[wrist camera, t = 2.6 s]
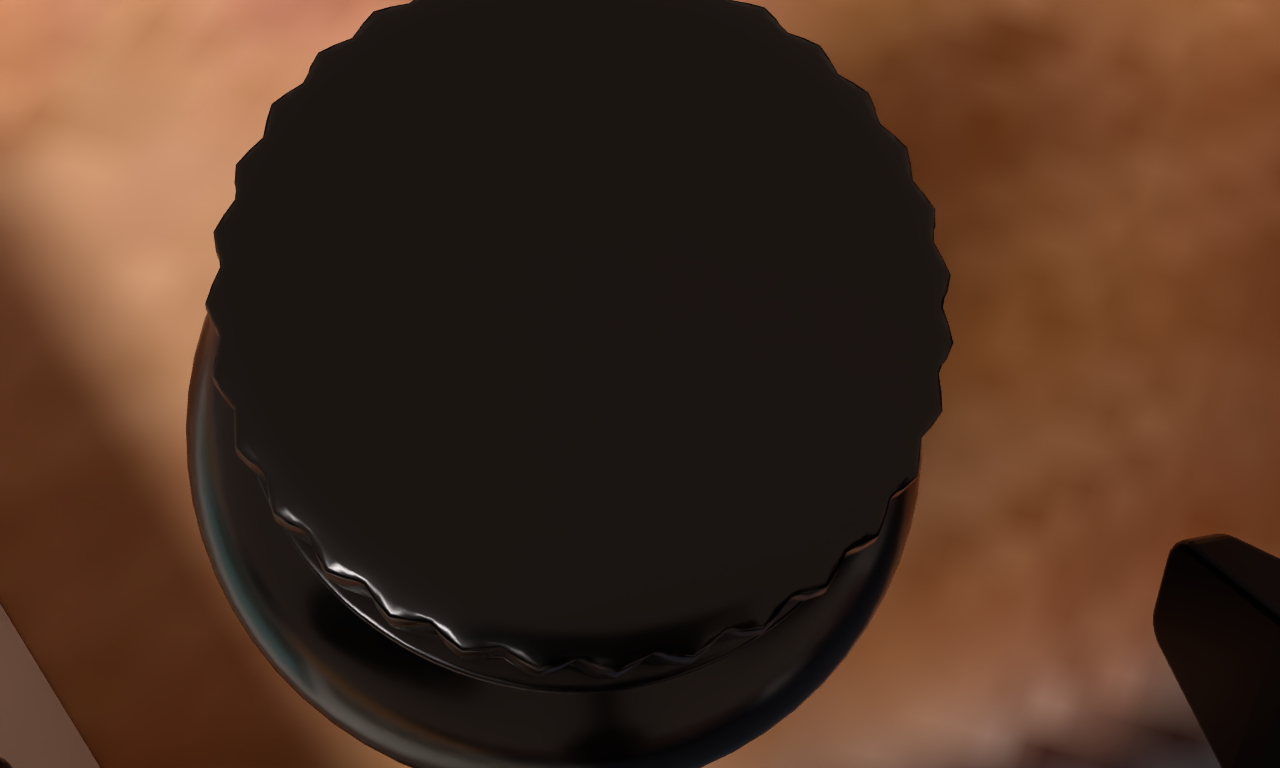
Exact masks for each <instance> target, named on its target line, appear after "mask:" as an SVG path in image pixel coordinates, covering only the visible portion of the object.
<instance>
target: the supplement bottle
mask: <svg viewBox="0 0 1280 768" xmlns="http://www.w3.org/2000/svg"><path fill="white" fill-rule="evenodd" d="M235 187H236V195H235V200H234V202H233V203H232V204H231V206H230V207H229V209H228V210H227V211H226V213H225V214H224V215H223V217H222V219H221V220H220V222H219V224H218V225H217V227H216V229H215V231H214V240H215V248H216V253H217V257H218V259H219V261H220V269H219V271H218V273H217V275H216V277H215V279H214V282H213V284H212V286H211V289H210V292H209V295H208V297H207V300H206V303H205V305H206V310H207V315H206V317H205V320H204V323H203V327H202V330H201V334H200V337H199V341H198V345H197V348H196V352H195V355H194V361H193V367H192V373H191V379H190V385H189V391H188V405H187V421H186V440H187V465H188V474H189V480H190V487H191V494H192V501H193V506H194V510H195V514H196V518H197V522H198V526H199V530H200V534H201V538H202V541H203V544H204V547H205V549H206V552H207V555H208V557H209V560H210V563H211V565H212V568H213V571H214V574H215V576H216V578H217V580H218V582H219V584H220V586H221V588H222V590H223V592H224V594H225V596H226V598H227V600H228V602H229V604H230V606H231V608H232V610H233V612H234V613H235V615H236V616H237V618H238V619H239V621H240V623H241V624H242V626H243V627H244V629H245V631H246V632H247V634H248V635H249V637H250V638H251V640H252V641H253V643H254V644H255V645H256V647H257V648H258V649H259V650H260V652H261V653H262V654H263V655H264V657H265V658H266V659H267V660H268V662H269V663H270V664H271V665H272V667H273V668H274V669H275V671H276V672H277V673H278V674H279V675H280V676H281V677H282V678H283V679H284V680H285V681H286V682H287V683H288V684H289V685H290V686H291V687H292V688H293V689H294V690H295V691H296V692H297V693H298V694H299V695H300V696H301V697H302V698H303V699H304V700H305V701H306V702H308V703H309V704H310V705H311V706H313V707H314V708H315V709H316V710H317V711H319V712H320V713H321V714H322V715H323V716H325V717H326V718H327V719H328V720H329V721H331V722H332V723H333V724H335V725H336V726H338V727H339V728H341V729H342V730H344V731H345V732H347V733H348V734H350V735H351V736H353V737H354V738H356V739H357V740H359V741H360V742H362V743H363V744H365V745H367V746H369V747H370V748H372V749H374V750H376V751H378V752H380V753H382V754H384V755H386V756H388V757H390V758H391V759H393V760H395V761H397V762H399V763H402V764H404V765H407V766H409V767H412V768H701V767H703V766H705V765H707V764H709V763H711V762H713V761H715V760H718V759H720V758H722V757H724V756H726V755H728V754H730V753H732V752H734V751H736V750H737V749H739V748H741V747H742V746H744V745H746V744H747V743H749V742H750V741H752V740H754V739H755V738H757V737H759V736H760V735H762V734H764V733H765V732H767V731H768V730H769V729H771V728H772V727H773V726H774V725H776V724H777V723H778V722H780V721H781V720H782V719H784V718H785V717H786V716H788V715H789V714H790V713H792V712H793V711H794V710H795V709H796V708H798V707H799V706H800V705H801V704H802V703H803V702H804V701H805V700H806V699H807V698H808V697H809V696H810V695H811V694H812V693H814V692H815V691H816V690H817V689H818V688H819V687H820V686H821V685H822V684H823V683H824V682H825V681H826V679H827V678H828V677H829V676H830V675H831V674H832V672H833V671H834V670H835V669H836V668H837V667H838V666H839V664H840V663H841V662H842V661H843V660H844V659H845V658H846V656H847V655H848V653H849V652H850V651H851V649H852V648H853V646H854V645H855V643H856V642H857V641H858V639H859V638H860V636H861V635H862V633H863V632H864V631H865V629H866V628H867V626H868V624H869V623H870V621H871V619H872V617H873V615H874V614H875V612H876V610H877V608H878V607H879V605H880V603H881V601H882V599H883V598H884V596H885V594H886V591H887V589H888V587H889V584H890V582H891V580H892V578H893V575H894V573H895V571H896V569H897V566H898V564H899V562H900V559H901V555H902V552H903V549H904V546H905V543H906V540H907V537H908V534H909V531H910V527H911V523H912V518H913V513H914V509H915V504H916V500H917V495H918V487H919V478H920V469H921V461H922V437H923V436H924V434H925V433H926V432H928V431H929V430H930V428H931V427H932V426H933V424H934V423H935V421H936V420H937V419H938V417H939V416H940V414H941V413H942V394H941V386H940V379H939V372H940V369H941V367H942V365H943V364H944V362H945V361H946V359H947V357H948V355H949V352H950V350H951V348H952V345H953V340H952V336H951V332H950V328H949V324H948V321H947V318H946V315H945V312H944V309H943V304H944V298H945V296H946V294H947V292H948V287H949V281H950V276H951V275H950V272H949V270H948V268H947V266H946V264H945V262H944V259H943V258H942V256H941V254H940V252H939V250H938V249H937V247H936V245H935V243H934V229H935V208H934V207H933V206H932V204H931V203H930V201H929V200H928V199H927V197H926V196H925V194H924V193H923V192H922V191H921V190H920V188H919V187H918V186H917V185H916V184H915V182H914V181H913V178H912V170H911V163H910V158H909V154H908V150H907V147H906V146H905V145H904V144H903V143H902V142H901V141H900V140H899V139H898V138H897V137H895V136H894V135H893V134H892V133H891V132H890V131H888V130H887V129H886V128H885V127H884V126H882V125H881V124H880V122H879V119H878V117H877V115H876V111H875V107H874V105H873V102H872V100H871V98H870V96H869V93H868V92H866V91H865V90H863V89H862V88H860V87H859V86H858V85H856V84H855V83H853V82H851V81H849V80H848V79H846V78H844V77H842V76H841V75H839V74H838V73H837V71H836V69H835V68H834V66H833V64H832V62H831V61H830V59H829V58H828V56H827V55H826V53H825V52H824V50H823V49H822V48H821V46H820V45H818V44H815V43H813V42H811V41H809V40H807V39H804V38H802V37H799V36H796V35H793V34H790V33H788V32H787V31H786V30H785V29H784V28H783V27H782V26H781V25H780V24H779V23H778V21H777V19H776V18H775V17H774V16H773V15H772V14H771V13H770V12H769V11H768V10H766V9H765V8H764V7H761V6H757V5H753V4H749V3H744V2H738V1H732V0H413V1H412V2H410V3H408V4H403V5H397V6H392V7H388V8H384V9H381V10H377V11H374V12H373V13H372V14H371V15H370V16H369V17H368V18H367V19H366V21H365V22H364V23H363V24H362V25H361V27H360V28H359V29H358V31H357V32H356V34H355V35H354V36H353V38H351V39H349V40H346V41H343V42H341V43H338V44H335V45H333V46H331V47H329V48H327V49H325V50H323V51H321V52H319V53H318V54H317V56H316V58H315V59H314V61H313V63H312V65H311V66H310V69H309V73H308V75H307V77H306V79H305V80H304V82H303V83H302V84H301V85H299V86H298V87H296V88H294V89H293V90H291V91H289V92H288V93H286V94H285V95H283V96H282V97H281V98H279V99H278V100H277V101H275V102H274V103H273V104H272V105H271V108H270V111H269V114H268V117H267V121H266V126H265V131H264V136H263V138H262V139H261V140H260V141H259V142H258V143H257V144H256V145H254V146H253V147H252V148H251V149H250V150H249V151H248V152H247V153H246V154H245V155H244V157H243V158H242V159H241V160H240V161H239V162H238V163H237V164H236V171H235Z"/></svg>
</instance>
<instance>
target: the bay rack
mask: <svg viewBox="0 0 1280 768" xmlns="http://www.w3.org/2000/svg"><path fill="white" fill-rule="evenodd" d="M0 757H1V758H4V759H5V760H6V761H8V762H9V763H10V765H11V766H12V768H100V766H99V765H98V763H97V762H96V760H95V758H94V757H93V755H92V753H91V752H90V750H89V748H88V747H87V745H86V744H85V742H84V740H83V739H82V737H81V735H80V734H79V732H78V730H77V729H76V727H75V726H74V724H73V722H72V721H71V719H70V717H69V716H68V714H67V712H66V711H65V709H64V708H63V706H62V704H61V703H60V701H59V699H58V698H57V696H56V694H55V693H54V691H53V690H52V688H51V686H50V685H49V683H48V681H47V680H46V678H45V676H44V675H43V673H42V672H41V670H40V668H39V667H38V665H37V663H36V662H35V660H34V658H33V657H32V655H31V654H30V652H29V650H28V649H27V647H26V645H25V644H24V642H23V640H22V639H21V637H20V635H19V634H18V632H17V631H16V629H15V627H14V626H13V624H12V622H11V621H10V619H9V617H8V616H7V614H6V613H5V611H4V609H3V608H2V606H1V604H0Z"/></svg>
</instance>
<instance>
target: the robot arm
mask: <svg viewBox="0 0 1280 768" xmlns="http://www.w3.org/2000/svg"><path fill="white" fill-rule="evenodd" d="M1153 626H1154V632H1155V635H1156V639H1157V641H1158V644H1159V646H1160V648H1161V650H1162V652H1163V654H1164V656H1165V658H1166V660H1167V662H1168V664H1169V666H1170V668H1171V670H1172V672H1173V674H1174V676H1175V678H1176V680H1177V682H1178V683H1179V685H1180V687H1181V689H1182V691H1183V693H1184V695H1185V697H1186V699H1187V701H1188V703H1189V705H1190V707H1191V709H1192V711H1193V713H1194V715H1195V717H1196V719H1197V721H1198V723H1199V725H1200V727H1201V729H1202V731H1203V732H1204V734H1205V736H1206V738H1207V740H1208V742H1209V744H1210V746H1211V748H1212V750H1213V752H1214V754H1215V756H1216V758H1217V760H1218V762H1219V764H1220V766H1221V768H1280V558H1277V557H1275V556H1273V555H1271V554H1269V553H1267V552H1265V551H1263V550H1260V549H1258V548H1256V547H1254V546H1252V545H1250V544H1248V543H1246V542H1244V541H1241V540H1239V539H1237V538H1235V537H1232V536H1230V535H1226V534H1213V535H1207V536H1202V537H1196V538H1191V539H1185V540H1181V541H1179V542H1177V543H1176V544H1175V545H1174V546H1173V548H1172V549H1171V550H1170V552H1169V555H1168V558H1167V562H1166V566H1165V570H1164V574H1163V577H1162V581H1161V585H1160V589H1159V593H1158V597H1157V600H1156V604H1155V608H1154V613H1153ZM0 768H12V766H11V765H10V763H9V762H8V761H6V760H5V759H4V758H1V757H0Z"/></svg>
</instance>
